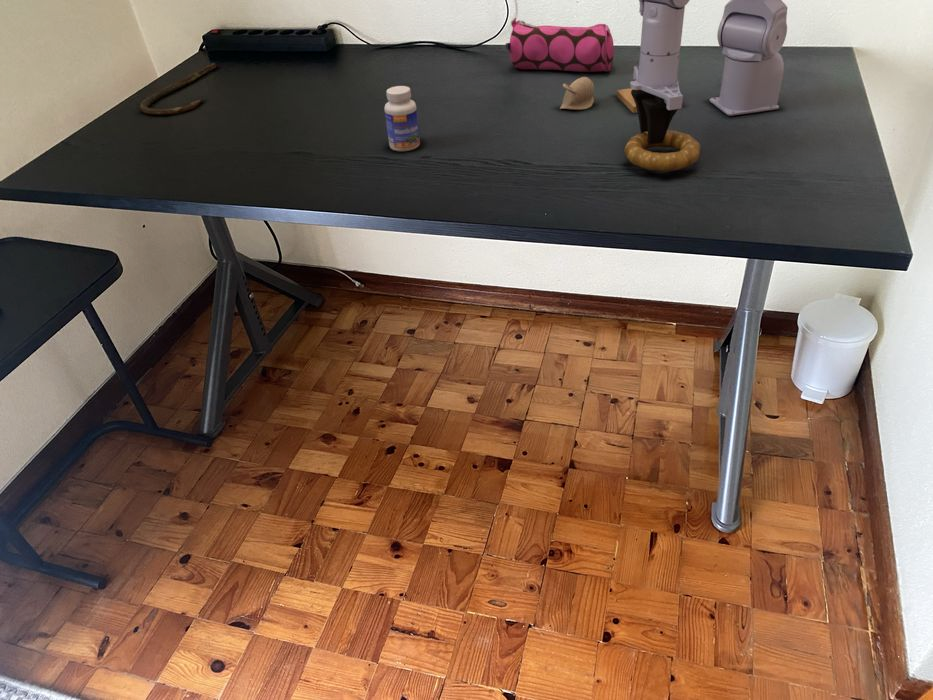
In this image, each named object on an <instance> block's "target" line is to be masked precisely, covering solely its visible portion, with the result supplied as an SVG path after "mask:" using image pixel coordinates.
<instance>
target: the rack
mask: <svg viewBox="0 0 933 700" xmlns="http://www.w3.org/2000/svg"><path fill="white" fill-rule="evenodd" d="M632 90H633V89H632V88H631V87H630V88H622V89H621V88H620V89H616V94H615V97H617V99H618V100H619V101H620V102H621V103H622V104H623V105H625V107H626V108H627V109H628V110H629V111H630V112H631V113H633V114H638V111H637V107H636V104H635V101H634V99H633V97H632V94H631V91H632Z"/></svg>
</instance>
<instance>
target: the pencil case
mask: <svg viewBox="0 0 933 700" xmlns="http://www.w3.org/2000/svg"><path fill="white" fill-rule="evenodd" d="M510 22H511V23H510V25H511V27H512V30H511V33H510V38H509V42H506V43H505V49H506V51H507V53H509V60H510V63H511V65H512V66H513V67H514V68H516V69H520V70H535V71H536V70H537V71H538V70H539V71H550V70H554V71H564V72H578V73H579V72H580V73H594V72H610V71H611V68H612V63H613V60H614V54H615V53H614V52H615V50H614V49H615V48H614V47H615V46H614V39H613V38H614V37H613V35H612V33H611V29H610V28H609V25H607V24H605V23H597V24H594V25H592V26H559V25H534V24H532V23H527V22H525V21H524V20H519V19H518V20H517V17H514V18H513V19H512V20H511V21H510Z"/></svg>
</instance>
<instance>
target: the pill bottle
mask: <svg viewBox="0 0 933 700" xmlns="http://www.w3.org/2000/svg"><path fill="white" fill-rule="evenodd" d="M385 93H386V99H387V102H386V103H385V105H384V109H383V110H384V116H385V117H384V118H385V124H386V132H387V138H388V146H389V148H390V149H391V150H392V151H395V152H409V151H413V150H416V149H417V148H418V147H420V145H421V138H420V137H421V136H420V128H419V119H418V117H419V116H418V109H417V103H416V102H415V101H414V100H413V99H411V98H412V93H411V88H410V87H409V86H407V85H395V86H391V87H389V88H387V90H386V92H385Z"/></svg>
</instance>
